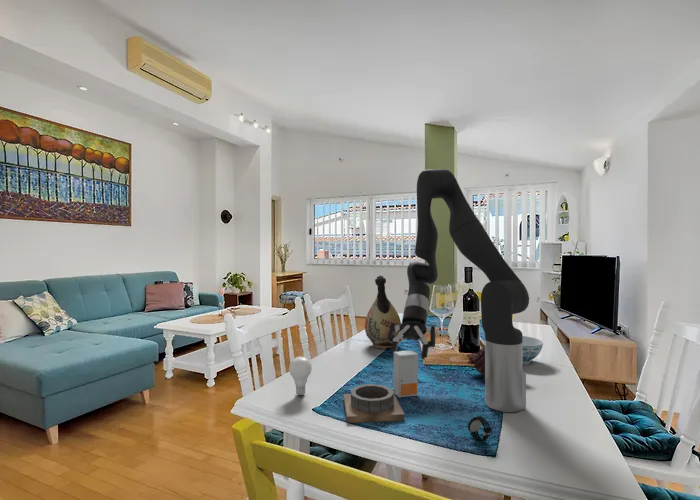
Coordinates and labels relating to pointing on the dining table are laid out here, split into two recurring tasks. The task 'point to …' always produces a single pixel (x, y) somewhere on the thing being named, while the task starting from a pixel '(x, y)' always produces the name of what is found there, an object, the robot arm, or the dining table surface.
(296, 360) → the lightbulb
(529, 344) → the chinaware
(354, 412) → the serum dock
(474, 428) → the smartwatch
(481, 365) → the pine cone
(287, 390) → the dining table surface
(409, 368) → the skincare box
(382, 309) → the ceramic jug
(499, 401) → the robot arm
